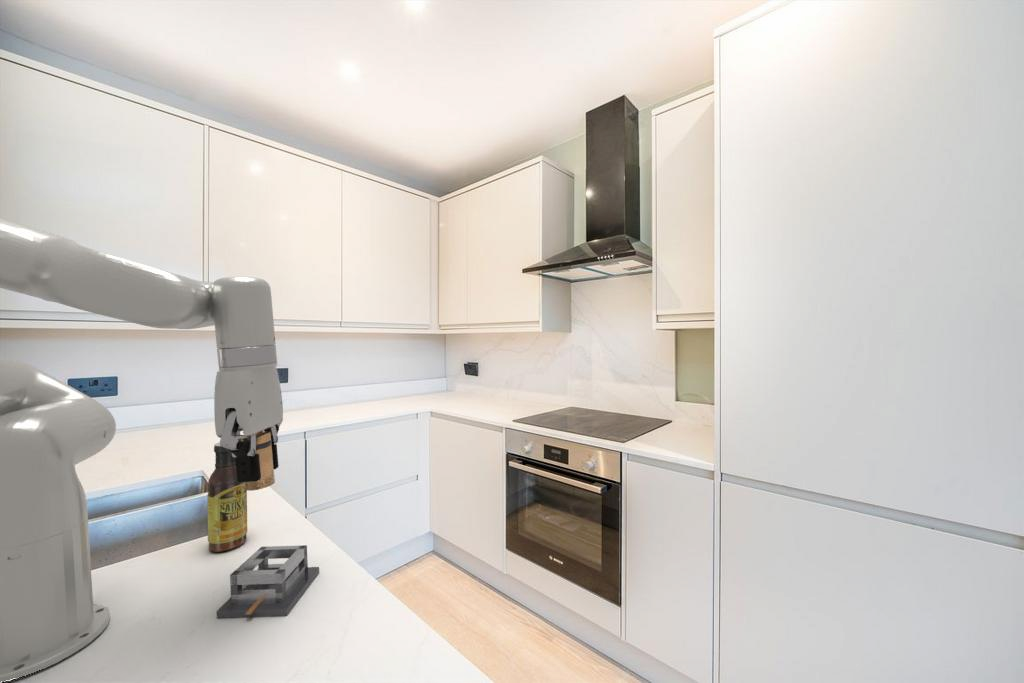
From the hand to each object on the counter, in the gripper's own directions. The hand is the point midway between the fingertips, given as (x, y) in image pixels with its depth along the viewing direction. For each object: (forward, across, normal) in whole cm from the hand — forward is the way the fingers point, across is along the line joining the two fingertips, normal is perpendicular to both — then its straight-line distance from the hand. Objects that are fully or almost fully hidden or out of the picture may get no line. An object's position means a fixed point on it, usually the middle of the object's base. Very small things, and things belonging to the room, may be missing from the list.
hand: (258, 473), depth 61 cm
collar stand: (+19, +1, +1) cm, 19 cm away
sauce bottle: (+19, -15, -16) cm, 29 cm away
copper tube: (+2, 0, 0) cm, 2 cm away
